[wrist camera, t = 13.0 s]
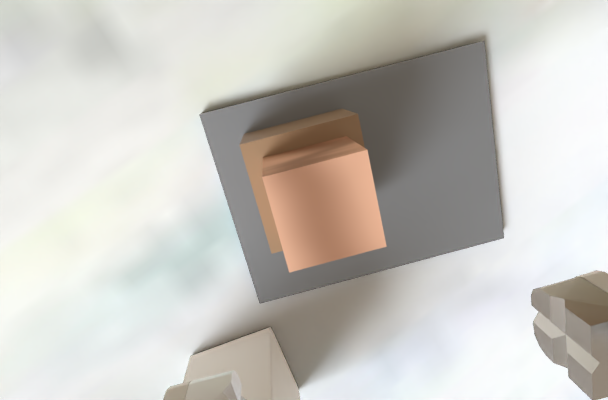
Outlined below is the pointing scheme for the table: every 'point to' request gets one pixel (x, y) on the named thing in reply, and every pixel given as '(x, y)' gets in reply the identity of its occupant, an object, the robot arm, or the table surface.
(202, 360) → the milk carton
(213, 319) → the table surface
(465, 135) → the building board
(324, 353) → the table surface
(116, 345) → the table surface
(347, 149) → the top block
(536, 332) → the robot arm
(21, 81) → the table surface
